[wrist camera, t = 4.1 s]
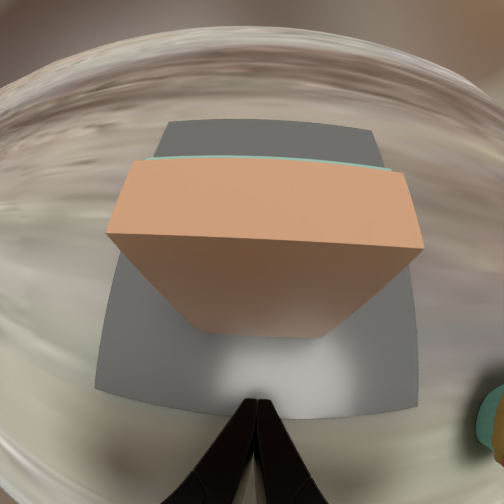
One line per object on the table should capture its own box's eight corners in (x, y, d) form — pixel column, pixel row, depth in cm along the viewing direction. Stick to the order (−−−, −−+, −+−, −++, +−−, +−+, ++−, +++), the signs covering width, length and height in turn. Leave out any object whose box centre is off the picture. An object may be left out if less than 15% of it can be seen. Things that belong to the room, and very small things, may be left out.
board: (411, 406, 13) (417, 406, 12) (100, 388, 14) (94, 388, 13) (369, 136, 24) (371, 130, 23) (170, 127, 25) (169, 121, 24)
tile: (321, 337, 15) (424, 248, 5) (199, 331, 15) (105, 232, 5) (321, 297, 16) (400, 165, 6) (204, 290, 16) (137, 153, 7)
